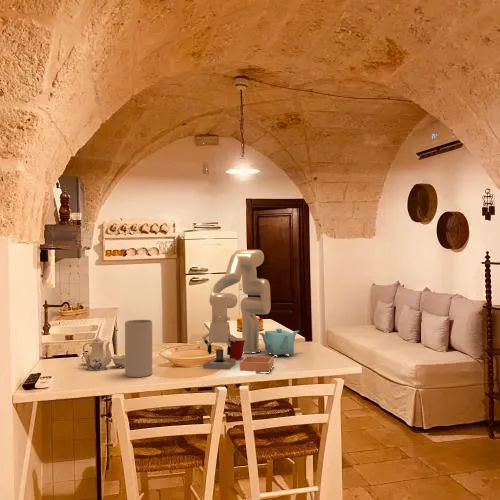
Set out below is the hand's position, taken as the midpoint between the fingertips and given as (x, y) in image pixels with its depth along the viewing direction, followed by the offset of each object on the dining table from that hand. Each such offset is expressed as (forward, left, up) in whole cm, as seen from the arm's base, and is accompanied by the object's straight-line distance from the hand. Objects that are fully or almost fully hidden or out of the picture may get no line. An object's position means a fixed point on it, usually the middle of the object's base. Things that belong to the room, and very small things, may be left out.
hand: (219, 353), depth 241 cm
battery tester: (0, 0, -7) cm, 7 cm away
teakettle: (-36, +25, -7) cm, 45 cm away
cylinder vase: (+20, -34, -7) cm, 40 cm away
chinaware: (+9, -59, -7) cm, 60 cm away
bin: (0, +19, -7) cm, 20 cm away
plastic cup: (-18, +4, -7) cm, 20 cm away
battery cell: (0, 0, -6) cm, 6 cm away
